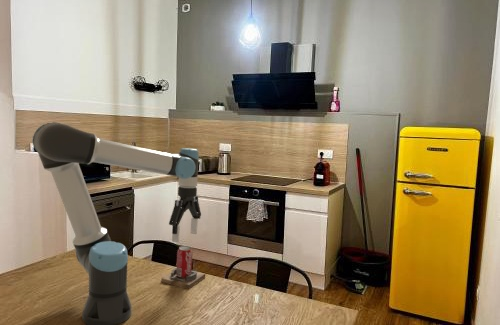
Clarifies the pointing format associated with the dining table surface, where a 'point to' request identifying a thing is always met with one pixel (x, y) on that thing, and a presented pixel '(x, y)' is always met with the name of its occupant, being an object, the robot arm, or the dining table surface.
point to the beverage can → (184, 261)
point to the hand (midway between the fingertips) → (184, 237)
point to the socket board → (183, 279)
